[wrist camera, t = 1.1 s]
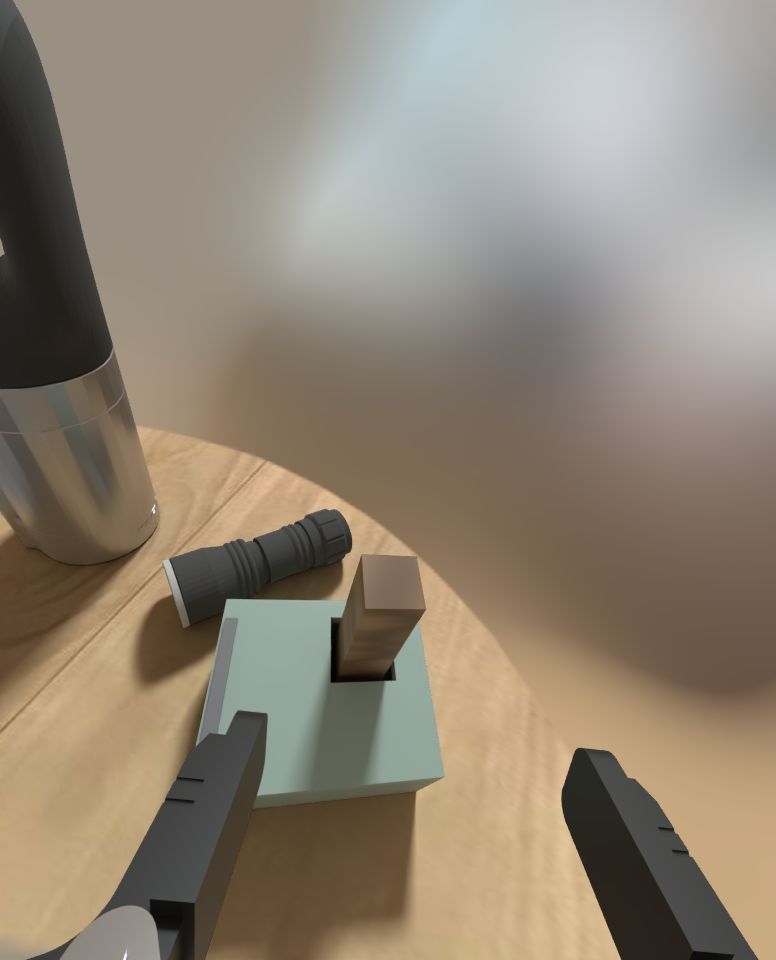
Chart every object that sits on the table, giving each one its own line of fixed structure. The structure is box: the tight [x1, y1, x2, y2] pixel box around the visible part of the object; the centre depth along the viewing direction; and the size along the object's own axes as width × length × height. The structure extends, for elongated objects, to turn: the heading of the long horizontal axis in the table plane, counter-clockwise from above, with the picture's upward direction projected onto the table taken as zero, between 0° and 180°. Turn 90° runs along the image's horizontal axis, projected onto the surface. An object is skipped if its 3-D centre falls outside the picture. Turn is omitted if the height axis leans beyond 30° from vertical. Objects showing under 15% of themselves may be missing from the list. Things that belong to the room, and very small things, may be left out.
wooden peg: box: [331, 554, 426, 683], centre depth 25 cm, size 3×3×14 cm
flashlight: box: [162, 509, 352, 628], centre depth 34 cm, size 15×5×5 cm, turn 125°
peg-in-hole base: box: [196, 599, 445, 809], centre depth 26 cm, size 14×11×6 cm
